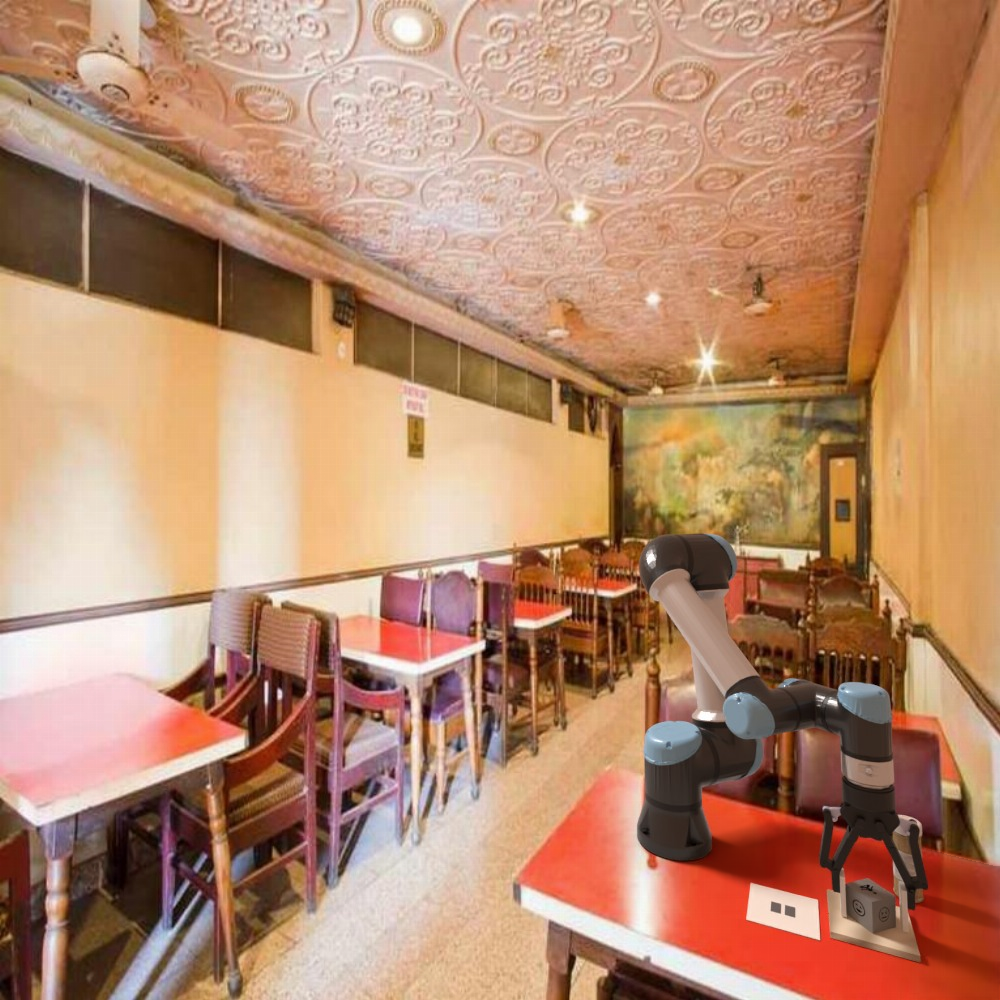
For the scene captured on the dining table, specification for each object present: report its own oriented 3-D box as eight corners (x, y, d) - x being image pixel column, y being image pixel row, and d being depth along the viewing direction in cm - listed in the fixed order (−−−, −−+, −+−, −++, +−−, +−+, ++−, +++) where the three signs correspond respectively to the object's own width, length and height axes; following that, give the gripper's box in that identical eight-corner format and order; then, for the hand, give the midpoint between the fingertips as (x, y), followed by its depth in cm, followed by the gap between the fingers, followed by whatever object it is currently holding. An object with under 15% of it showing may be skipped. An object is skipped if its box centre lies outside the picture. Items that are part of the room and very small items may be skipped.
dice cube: (868, 907, 100) (867, 878, 101) (896, 927, 96) (895, 895, 96) (846, 913, 99) (845, 883, 99) (872, 933, 94) (872, 902, 94)
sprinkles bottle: (902, 885, 108) (900, 811, 108) (929, 899, 104) (927, 822, 104) (887, 892, 106) (885, 817, 106) (914, 907, 102) (912, 829, 102)
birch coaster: (830, 937, 95) (830, 931, 95) (827, 894, 106) (826, 889, 106) (920, 962, 89) (920, 956, 89) (907, 914, 100) (907, 908, 100)
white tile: (746, 919, 99) (746, 919, 99) (750, 883, 109) (750, 882, 109) (820, 940, 94) (820, 939, 94) (817, 900, 104) (817, 899, 104)
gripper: (798, 777, 99) (803, 914, 99) (949, 801, 90) (956, 953, 89) (798, 760, 106) (802, 889, 105) (938, 782, 97) (945, 923, 96)
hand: (873, 919), depth 97 cm, fingers open, 8 cm apart
